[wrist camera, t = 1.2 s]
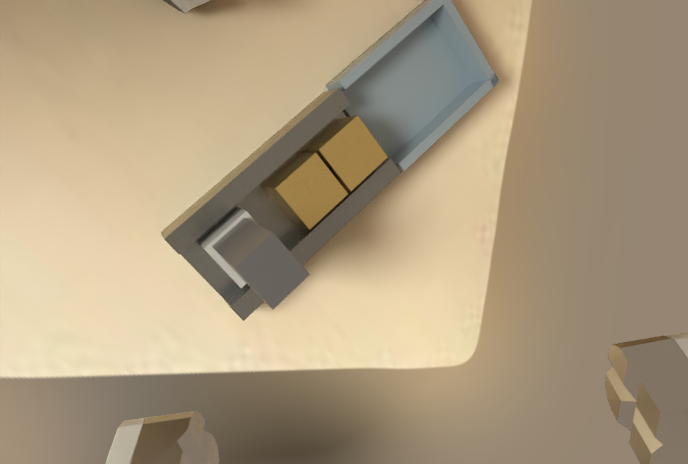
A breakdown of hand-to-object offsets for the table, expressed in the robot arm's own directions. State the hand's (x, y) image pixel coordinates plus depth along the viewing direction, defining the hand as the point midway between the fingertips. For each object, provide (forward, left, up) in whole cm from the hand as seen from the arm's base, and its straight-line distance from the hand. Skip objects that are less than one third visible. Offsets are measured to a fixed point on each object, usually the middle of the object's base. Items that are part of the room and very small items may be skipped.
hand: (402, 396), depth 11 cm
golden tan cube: (+3, +8, -33) cm, 34 cm away
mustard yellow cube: (+3, +12, -33) cm, 35 cm away
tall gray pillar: (+3, +1, -33) cm, 33 cm away
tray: (+3, +21, -34) cm, 40 cm away
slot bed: (+3, +6, -34) cm, 35 cm away
